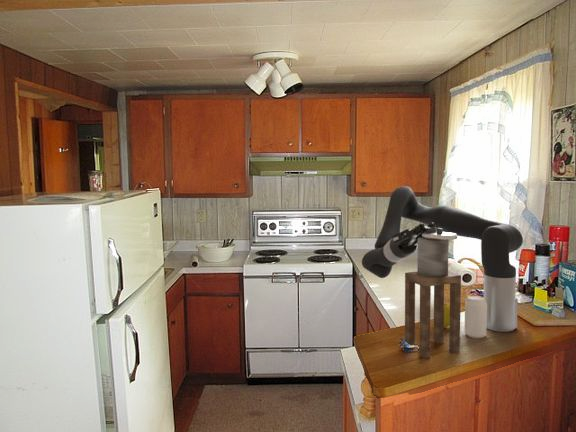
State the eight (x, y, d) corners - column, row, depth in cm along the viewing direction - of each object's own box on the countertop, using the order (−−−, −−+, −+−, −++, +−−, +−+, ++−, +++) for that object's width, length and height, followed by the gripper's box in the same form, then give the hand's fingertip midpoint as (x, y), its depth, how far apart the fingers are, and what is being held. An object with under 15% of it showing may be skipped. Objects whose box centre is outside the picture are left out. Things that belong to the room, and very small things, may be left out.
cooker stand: (439, 341, 135) (440, 235, 132) (459, 352, 127) (461, 239, 124) (404, 346, 131) (405, 238, 128) (423, 358, 123) (424, 242, 120)
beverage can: (473, 330, 143) (474, 293, 142) (490, 336, 138) (491, 298, 137) (460, 334, 140) (460, 296, 139) (476, 340, 135) (477, 301, 134)
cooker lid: (432, 232, 137) (432, 224, 137) (464, 238, 124) (464, 229, 124) (406, 234, 134) (406, 225, 134) (436, 240, 121) (436, 231, 121)
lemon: (455, 331, 143) (456, 306, 142) (437, 330, 144) (437, 306, 143) (452, 325, 148) (453, 301, 147) (435, 324, 149) (435, 301, 149)
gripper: (377, 238, 145) (404, 215, 130) (414, 235, 150) (444, 213, 135) (383, 260, 142) (412, 239, 127) (421, 256, 147) (452, 236, 132)
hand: (428, 226), depth 131 cm, fingers closed on cooker lid, 3 cm apart
